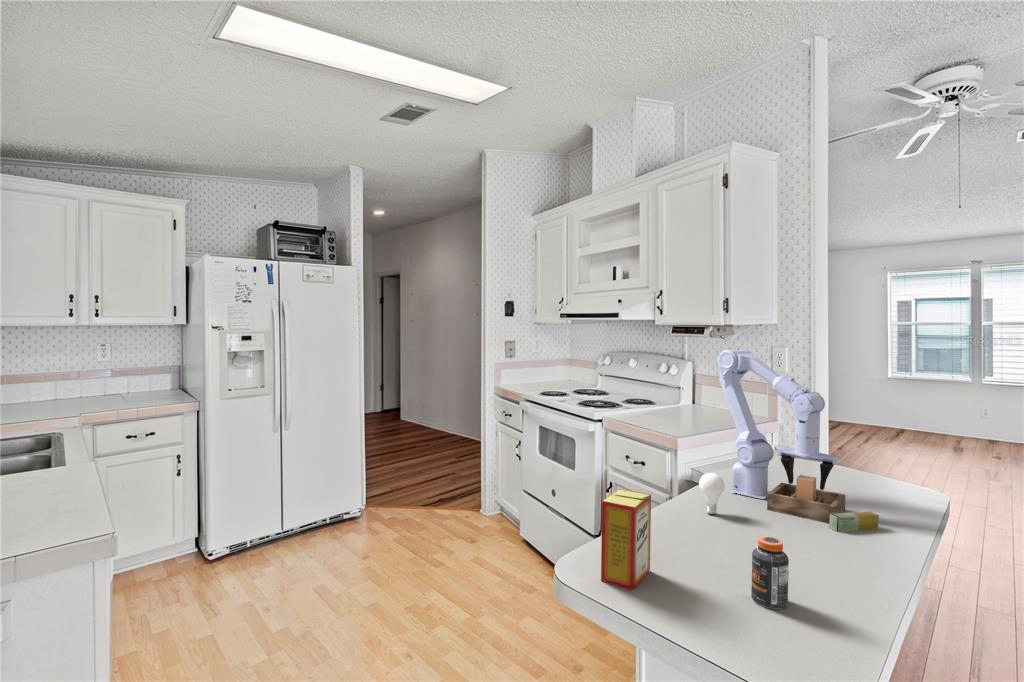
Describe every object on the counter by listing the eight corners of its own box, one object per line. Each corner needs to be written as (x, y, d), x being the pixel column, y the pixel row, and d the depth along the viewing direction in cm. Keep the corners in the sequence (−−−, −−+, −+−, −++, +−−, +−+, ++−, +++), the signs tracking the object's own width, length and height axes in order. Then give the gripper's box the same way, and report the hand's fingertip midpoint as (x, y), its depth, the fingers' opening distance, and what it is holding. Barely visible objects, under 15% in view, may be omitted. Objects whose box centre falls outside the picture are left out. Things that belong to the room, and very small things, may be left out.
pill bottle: (744, 593, 96) (745, 533, 96) (775, 592, 97) (776, 532, 97) (762, 611, 90) (764, 546, 90) (795, 609, 91) (796, 545, 91)
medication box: (836, 533, 127) (837, 516, 127) (827, 528, 129) (828, 512, 129) (878, 530, 129) (879, 514, 129) (869, 526, 132) (870, 510, 131)
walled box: (767, 509, 142) (767, 493, 142) (781, 497, 153) (781, 482, 153) (834, 524, 132) (834, 507, 132) (845, 510, 142) (845, 494, 142)
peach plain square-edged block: (795, 506, 142) (796, 477, 142) (799, 503, 145) (800, 474, 145) (812, 510, 139) (813, 480, 139) (815, 506, 142) (816, 477, 142)
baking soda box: (633, 590, 97) (634, 505, 97) (601, 581, 101) (602, 499, 101) (649, 571, 105) (651, 492, 105) (619, 563, 109) (620, 487, 108)
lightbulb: (698, 516, 137) (698, 474, 137) (699, 508, 143) (699, 468, 143) (724, 519, 134) (724, 477, 134) (724, 511, 140) (724, 471, 140)
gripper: (774, 434, 144) (773, 483, 144) (835, 443, 134) (833, 495, 134) (781, 431, 149) (780, 478, 149) (840, 438, 139) (839, 489, 140)
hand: (806, 485), depth 142 cm, fingers open, 7 cm apart
